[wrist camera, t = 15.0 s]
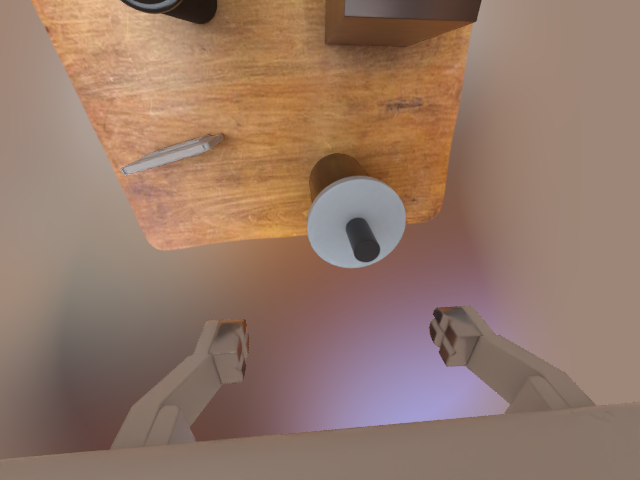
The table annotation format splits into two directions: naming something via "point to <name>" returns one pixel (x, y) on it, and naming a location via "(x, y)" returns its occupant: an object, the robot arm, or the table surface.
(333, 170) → the thermos
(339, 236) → the lid
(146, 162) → the cassette
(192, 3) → the drinking cup
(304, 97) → the table surface
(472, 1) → the riser
